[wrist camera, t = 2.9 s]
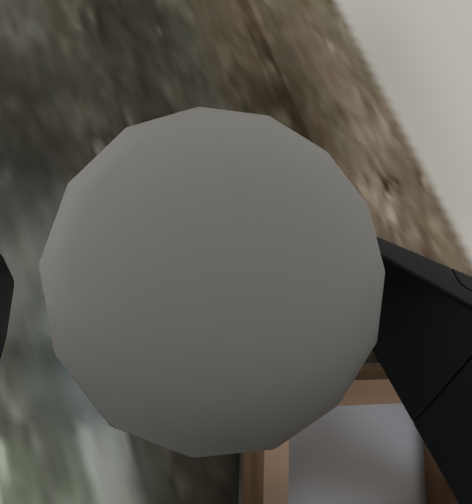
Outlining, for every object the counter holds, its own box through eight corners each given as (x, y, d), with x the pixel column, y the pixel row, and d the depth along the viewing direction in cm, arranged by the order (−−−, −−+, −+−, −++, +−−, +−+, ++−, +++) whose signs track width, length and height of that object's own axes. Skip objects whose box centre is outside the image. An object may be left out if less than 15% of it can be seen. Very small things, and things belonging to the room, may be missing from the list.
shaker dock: (437, 579, 17) (510, 652, 13) (234, 618, 14) (258, 721, 11) (425, 362, 18) (487, 376, 15) (242, 364, 16) (265, 382, 12)
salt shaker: (90, 319, 15) (-321, 443, 2) (150, 213, 16) (117, -95, 3) (203, 370, 15) (389, 677, 3) (251, 266, 17) (521, 173, 4)
